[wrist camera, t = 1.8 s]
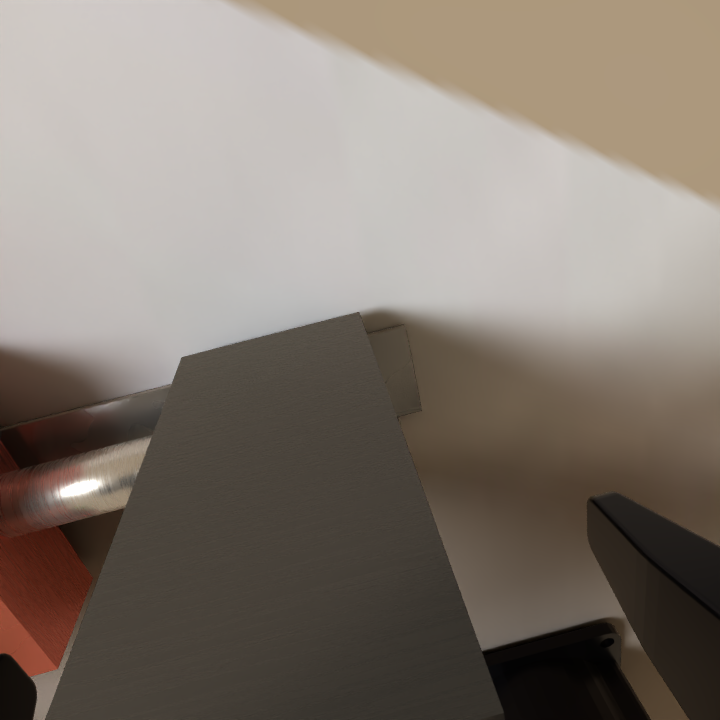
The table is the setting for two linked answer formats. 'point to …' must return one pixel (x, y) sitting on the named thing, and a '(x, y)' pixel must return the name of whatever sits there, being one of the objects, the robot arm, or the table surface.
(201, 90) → the table surface
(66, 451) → the rail
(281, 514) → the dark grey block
